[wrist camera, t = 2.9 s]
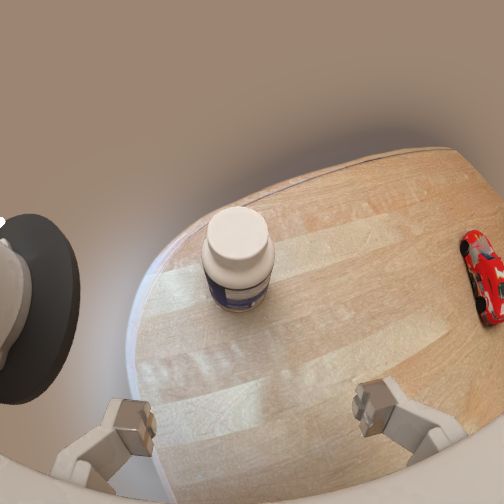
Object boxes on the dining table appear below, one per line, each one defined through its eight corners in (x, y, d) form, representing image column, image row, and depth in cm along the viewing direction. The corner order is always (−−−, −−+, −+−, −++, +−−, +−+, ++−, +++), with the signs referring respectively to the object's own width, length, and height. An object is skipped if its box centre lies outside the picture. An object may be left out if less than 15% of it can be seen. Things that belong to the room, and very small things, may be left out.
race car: (453, 235, 31) (470, 219, 27) (477, 237, 31) (492, 222, 27) (478, 330, 25) (500, 320, 21) (501, 324, 25) (521, 314, 21)
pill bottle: (206, 264, 27) (192, 203, 19) (260, 256, 28) (269, 192, 20) (214, 317, 25) (200, 275, 16) (272, 308, 26) (289, 261, 17)
